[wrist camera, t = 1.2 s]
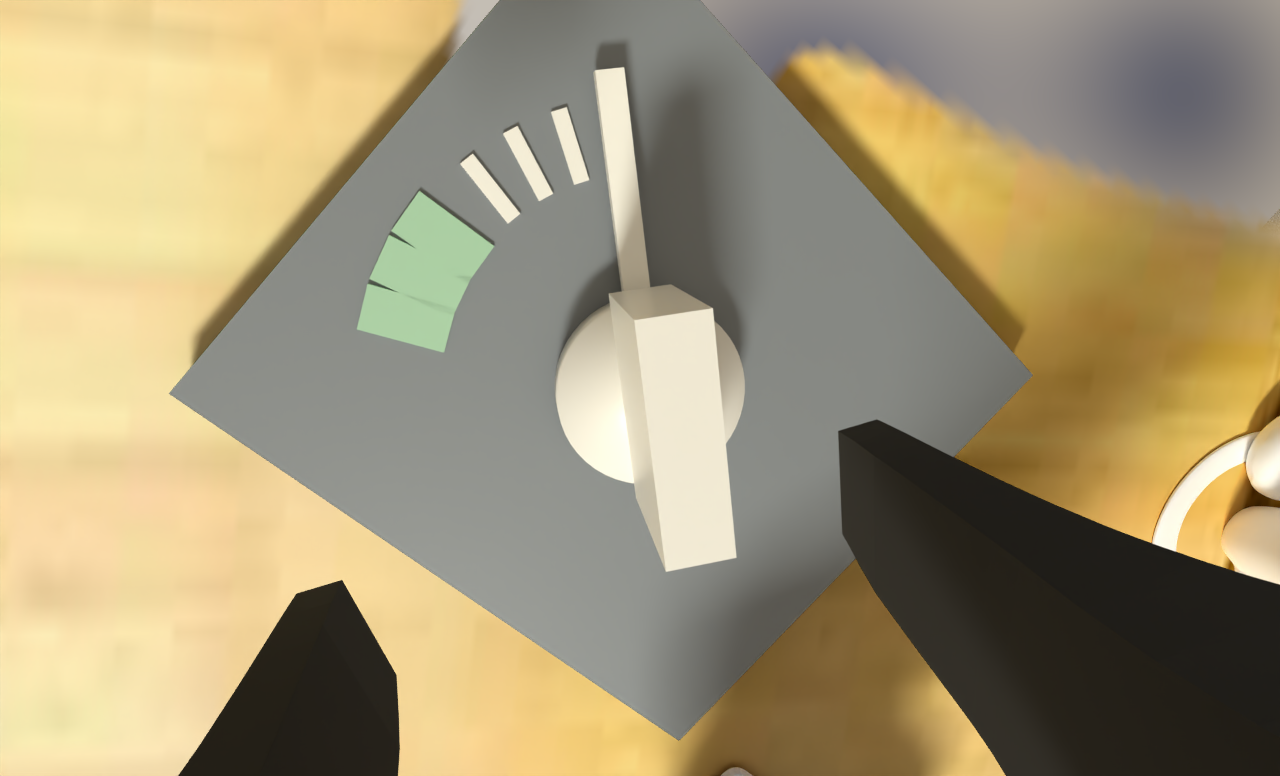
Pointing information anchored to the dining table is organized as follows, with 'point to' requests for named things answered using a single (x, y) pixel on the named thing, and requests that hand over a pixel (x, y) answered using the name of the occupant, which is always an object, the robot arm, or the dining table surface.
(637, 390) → the knob
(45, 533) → the dining table surface
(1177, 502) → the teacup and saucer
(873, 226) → the dial board
